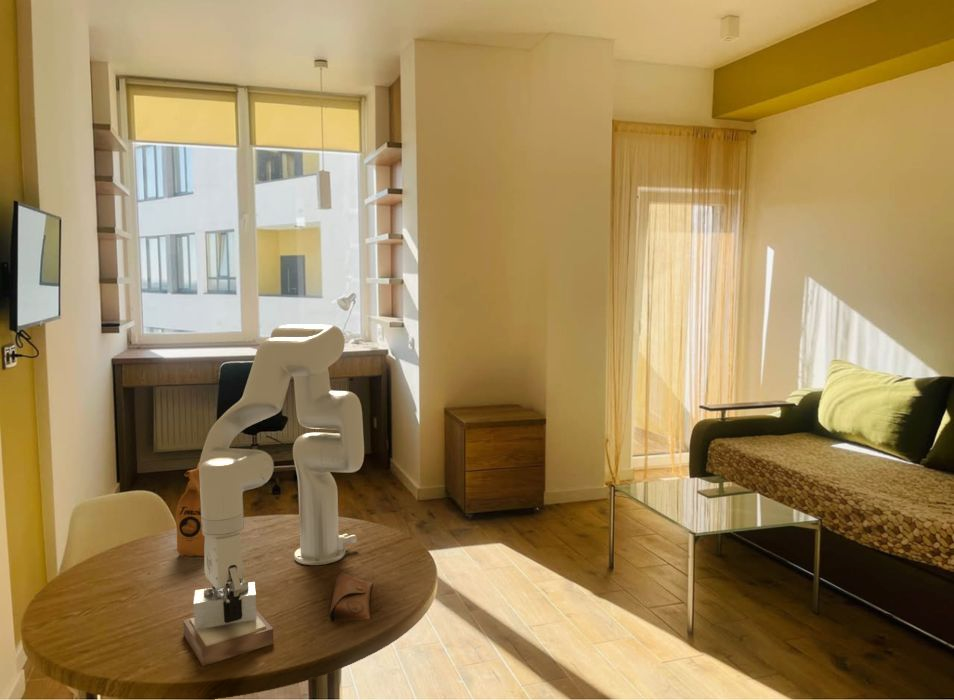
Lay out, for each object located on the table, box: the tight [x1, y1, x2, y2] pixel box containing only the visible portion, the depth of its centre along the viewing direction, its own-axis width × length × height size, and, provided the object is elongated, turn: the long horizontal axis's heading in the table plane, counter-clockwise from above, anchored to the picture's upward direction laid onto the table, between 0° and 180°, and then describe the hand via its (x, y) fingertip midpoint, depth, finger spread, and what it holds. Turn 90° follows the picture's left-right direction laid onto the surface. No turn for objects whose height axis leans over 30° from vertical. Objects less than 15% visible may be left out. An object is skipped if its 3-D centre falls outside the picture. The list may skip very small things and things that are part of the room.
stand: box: [182, 609, 275, 667], centre depth 133 cm, size 13×14×3 cm
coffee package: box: [175, 461, 205, 557], centre depth 179 cm, size 10×12×22 cm
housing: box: [193, 579, 257, 629], centre depth 133 cm, size 6×11×6 cm, turn 110°
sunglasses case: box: [329, 571, 373, 623], centre depth 149 cm, size 18×7×7 cm
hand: (226, 611), depth 133 cm, fingers closed on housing, 7 cm apart
